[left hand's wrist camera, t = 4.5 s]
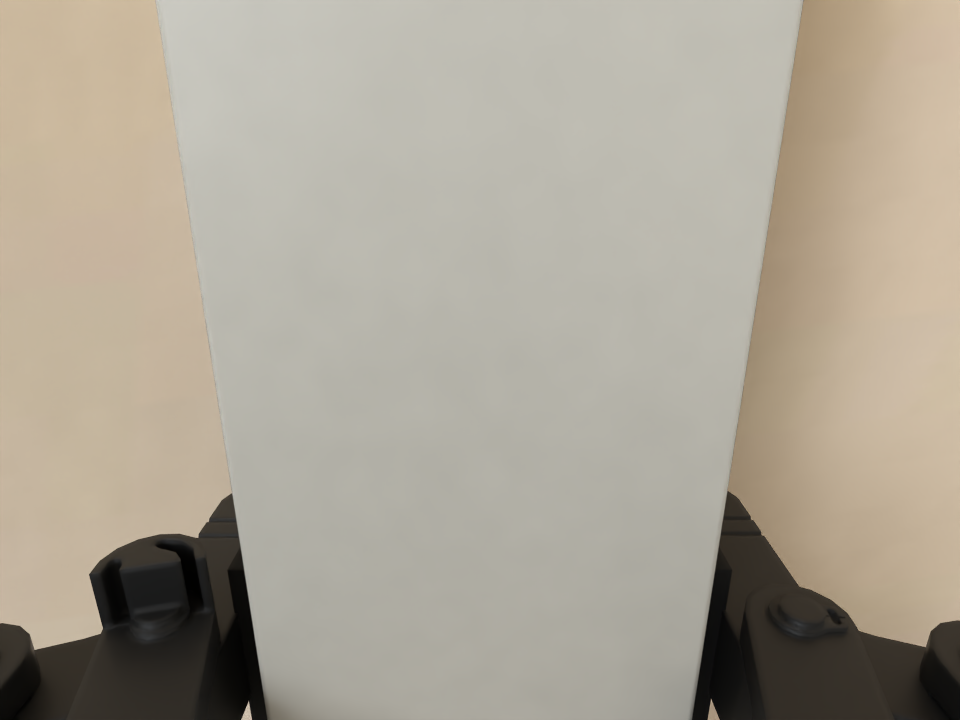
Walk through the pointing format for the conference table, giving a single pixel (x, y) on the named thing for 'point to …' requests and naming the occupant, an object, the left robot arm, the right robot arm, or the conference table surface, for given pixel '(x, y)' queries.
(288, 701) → the bar
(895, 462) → the conference table surface
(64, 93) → the conference table surface
